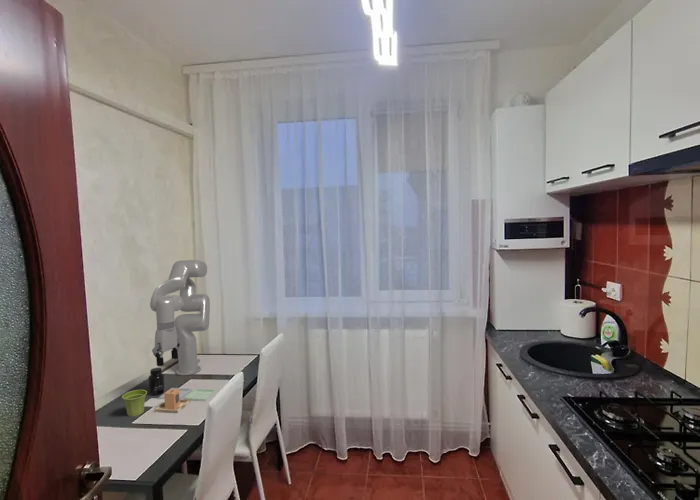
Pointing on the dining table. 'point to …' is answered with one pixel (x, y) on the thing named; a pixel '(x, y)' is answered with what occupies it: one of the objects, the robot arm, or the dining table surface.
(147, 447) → the dining table surface
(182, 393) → the tray grey
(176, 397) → the letter block
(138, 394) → the plant pot
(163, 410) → the tray birch
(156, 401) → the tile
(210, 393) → the tray green
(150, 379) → the supplement bottle
